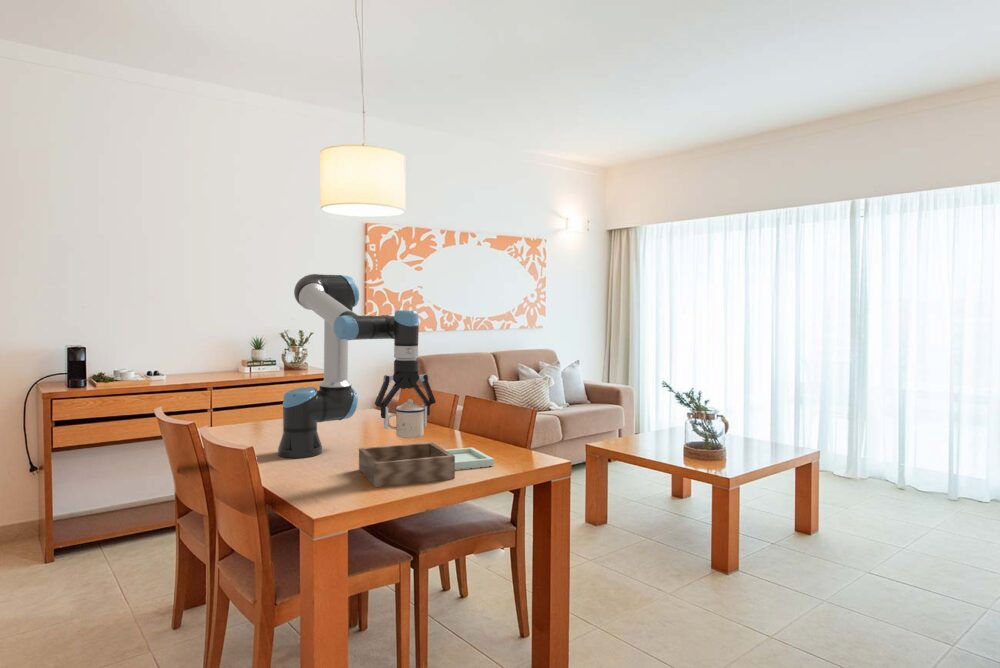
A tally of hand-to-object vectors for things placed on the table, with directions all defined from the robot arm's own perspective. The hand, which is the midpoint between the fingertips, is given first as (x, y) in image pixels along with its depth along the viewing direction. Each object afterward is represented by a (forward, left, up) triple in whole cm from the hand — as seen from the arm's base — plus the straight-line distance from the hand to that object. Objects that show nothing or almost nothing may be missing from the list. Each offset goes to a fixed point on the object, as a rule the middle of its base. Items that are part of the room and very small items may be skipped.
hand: (405, 427), depth 201 cm
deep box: (0, 0, -15) cm, 15 cm away
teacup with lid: (0, 0, -3) cm, 3 cm away
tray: (+22, +8, -15) cm, 28 cm away
